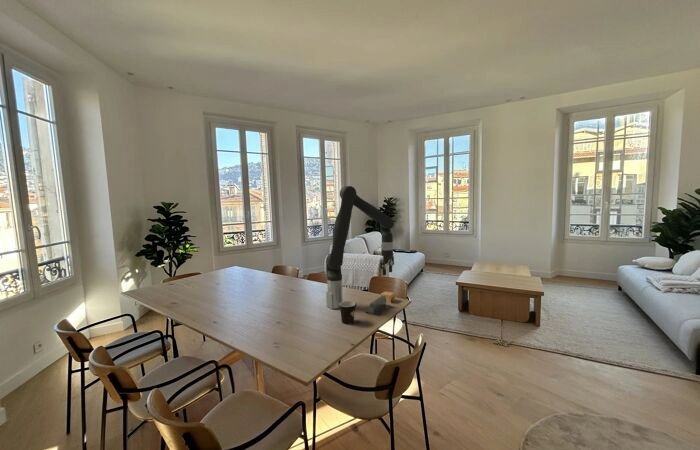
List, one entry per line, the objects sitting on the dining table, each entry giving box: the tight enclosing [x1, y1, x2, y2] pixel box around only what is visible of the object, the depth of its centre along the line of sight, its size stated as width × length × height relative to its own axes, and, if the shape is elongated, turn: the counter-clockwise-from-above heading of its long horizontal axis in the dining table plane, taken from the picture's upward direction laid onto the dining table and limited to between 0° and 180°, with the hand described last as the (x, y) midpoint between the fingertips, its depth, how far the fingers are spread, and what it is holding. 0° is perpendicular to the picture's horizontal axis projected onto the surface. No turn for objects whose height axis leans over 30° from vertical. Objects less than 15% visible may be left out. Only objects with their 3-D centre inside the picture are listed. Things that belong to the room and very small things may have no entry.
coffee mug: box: [339, 300, 357, 325], centre depth 166 cm, size 12×9×10 cm
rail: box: [364, 295, 392, 316], centre depth 182 cm, size 16×9×6 cm, turn 148°
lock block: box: [380, 291, 396, 304], centre depth 197 cm, size 7×6×5 cm
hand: (387, 273), depth 196 cm, fingers open, 8 cm apart
